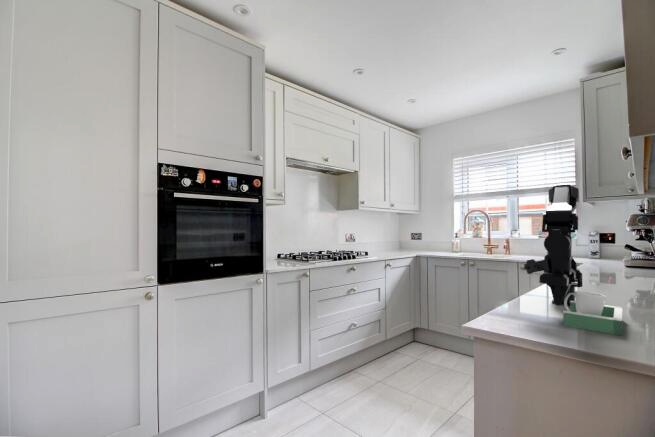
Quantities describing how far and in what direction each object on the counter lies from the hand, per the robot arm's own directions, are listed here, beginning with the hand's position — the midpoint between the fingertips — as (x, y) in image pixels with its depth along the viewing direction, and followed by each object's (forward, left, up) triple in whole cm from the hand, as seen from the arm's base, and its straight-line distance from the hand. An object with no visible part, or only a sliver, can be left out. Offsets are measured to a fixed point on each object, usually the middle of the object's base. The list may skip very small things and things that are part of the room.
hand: (557, 305), depth 93 cm
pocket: (0, +7, -3) cm, 8 cm away
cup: (+1, +6, -3) cm, 7 cm away
